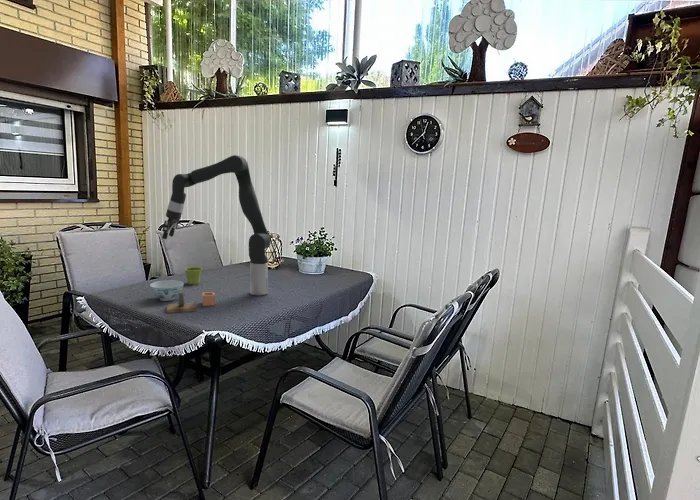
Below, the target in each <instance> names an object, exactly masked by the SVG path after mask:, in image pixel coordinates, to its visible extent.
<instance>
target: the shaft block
mask: <svg viewBox="0 0 700 500" xmlns="http://www.w3.org/2000/svg"><path fill="white" fill-rule="evenodd" d="M196 307H197V306H196V302H186V303H185V294H184V293H183V292H180V293H179V294H178V302H177V303H170V304H169V303H168V304H167V306H166V313H167V314H171V313H189V312H196Z"/></svg>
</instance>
